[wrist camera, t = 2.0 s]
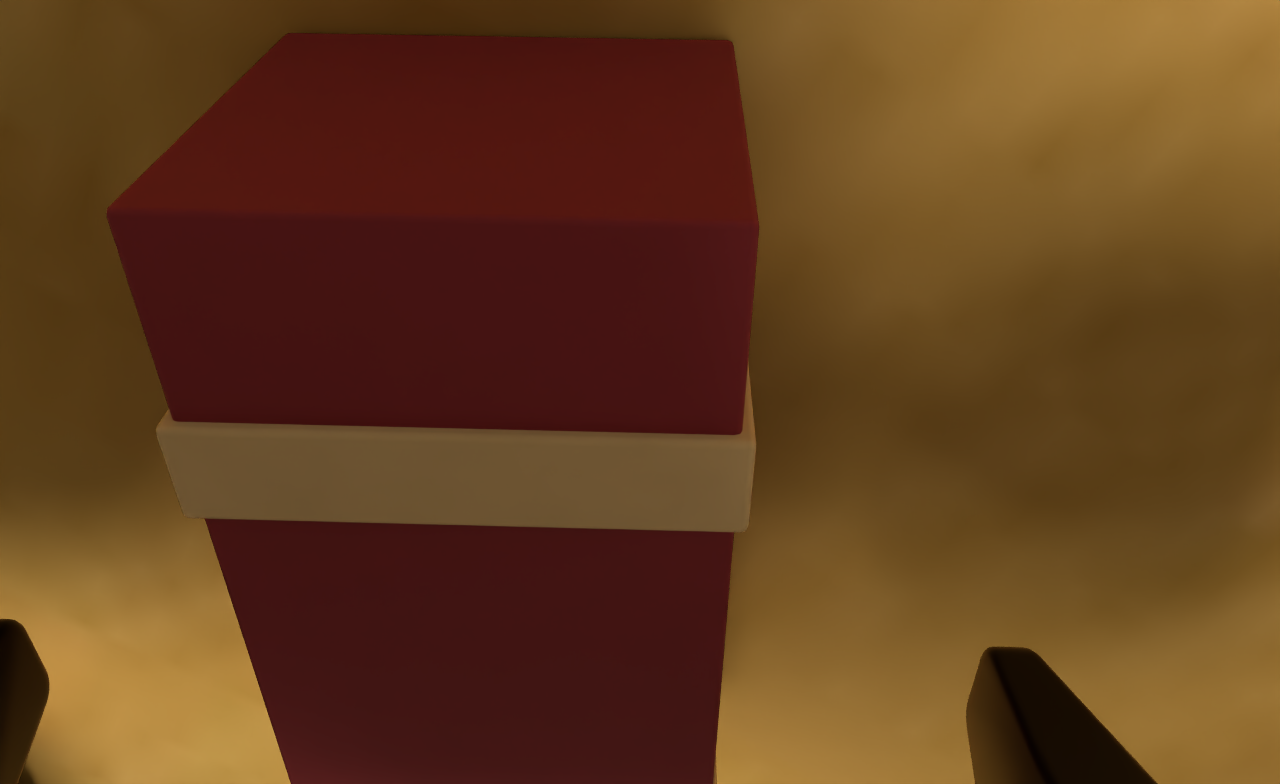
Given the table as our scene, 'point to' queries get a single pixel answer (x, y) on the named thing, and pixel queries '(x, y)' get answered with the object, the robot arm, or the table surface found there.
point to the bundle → (464, 395)
